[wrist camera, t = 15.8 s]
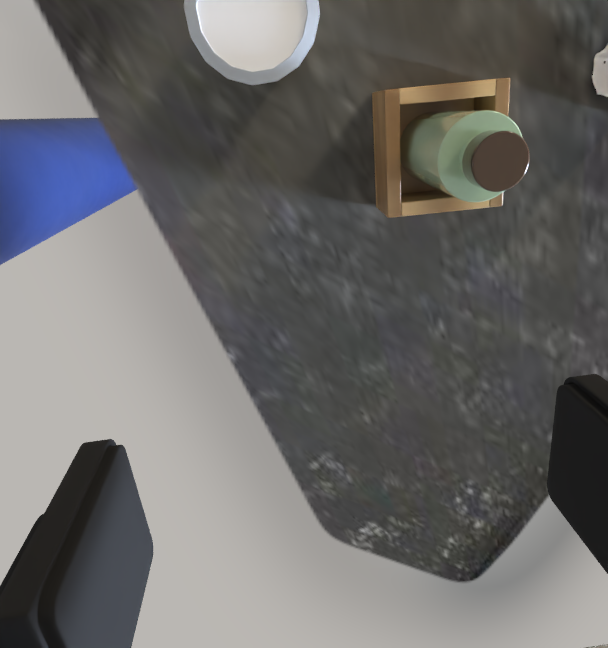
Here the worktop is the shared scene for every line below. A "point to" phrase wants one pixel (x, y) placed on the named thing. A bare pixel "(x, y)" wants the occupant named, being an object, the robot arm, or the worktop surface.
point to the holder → (392, 118)
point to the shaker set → (601, 72)
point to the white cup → (253, 36)
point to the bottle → (465, 153)
